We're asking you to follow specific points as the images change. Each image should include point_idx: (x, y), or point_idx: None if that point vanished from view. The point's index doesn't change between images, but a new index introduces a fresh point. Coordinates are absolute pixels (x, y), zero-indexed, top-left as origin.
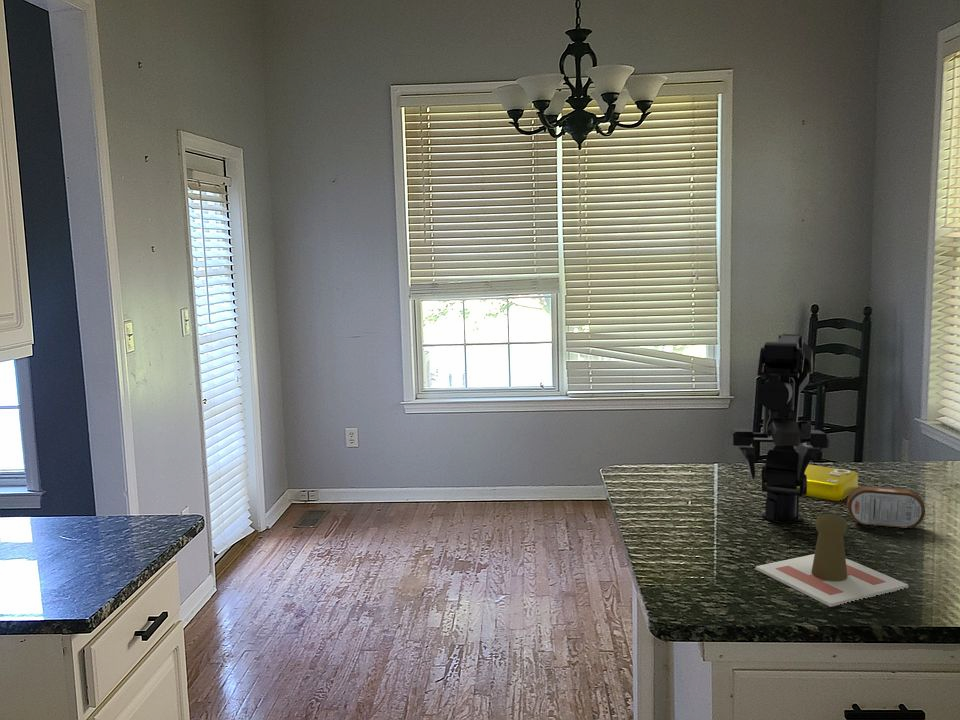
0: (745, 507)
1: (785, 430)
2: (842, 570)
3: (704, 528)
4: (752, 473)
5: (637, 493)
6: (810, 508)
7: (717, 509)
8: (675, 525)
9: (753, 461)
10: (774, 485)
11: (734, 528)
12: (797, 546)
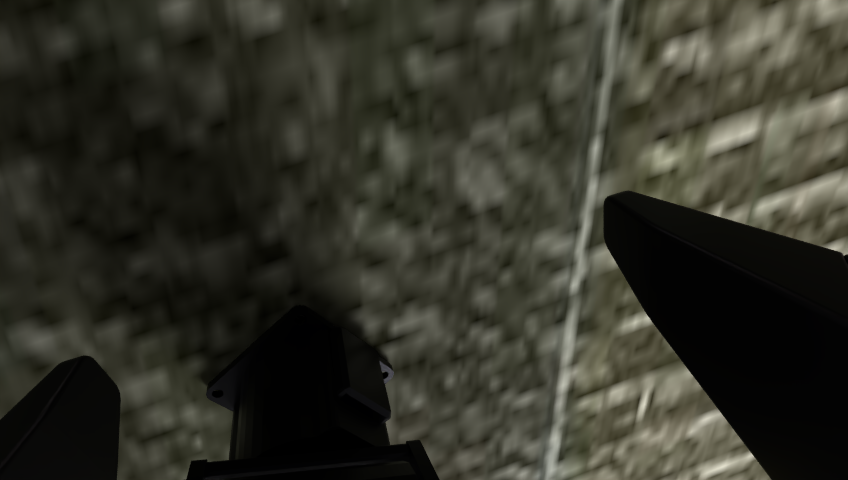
0: (451, 433)
1: None
2: None
3: (641, 141)
4: (677, 212)
5: None
6: None
7: (556, 377)
8: (754, 139)
9: (829, 298)
10: (360, 466)
11: (509, 187)
12: (171, 2)
